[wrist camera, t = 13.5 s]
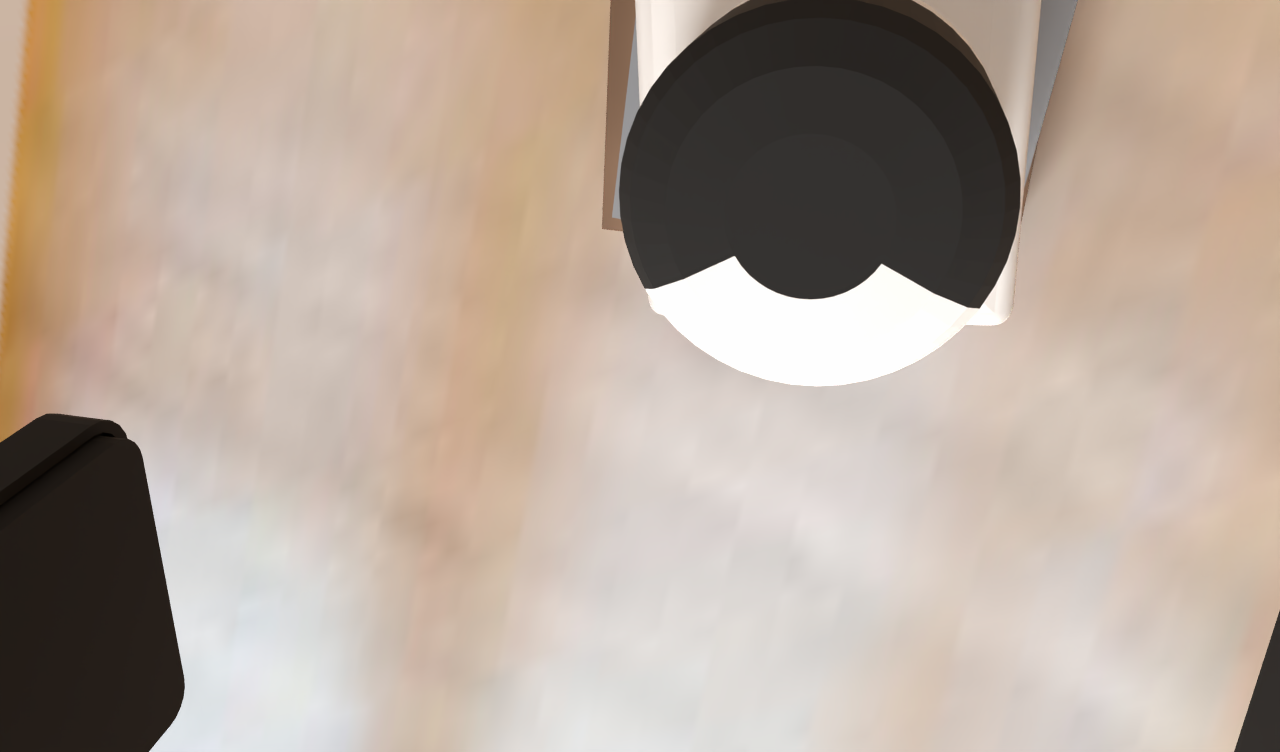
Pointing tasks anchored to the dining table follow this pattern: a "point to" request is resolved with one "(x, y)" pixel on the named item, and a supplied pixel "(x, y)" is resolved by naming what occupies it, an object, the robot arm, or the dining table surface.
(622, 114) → the tower base
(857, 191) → the medicine bottle
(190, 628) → the dining table surface
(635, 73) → the tower top
